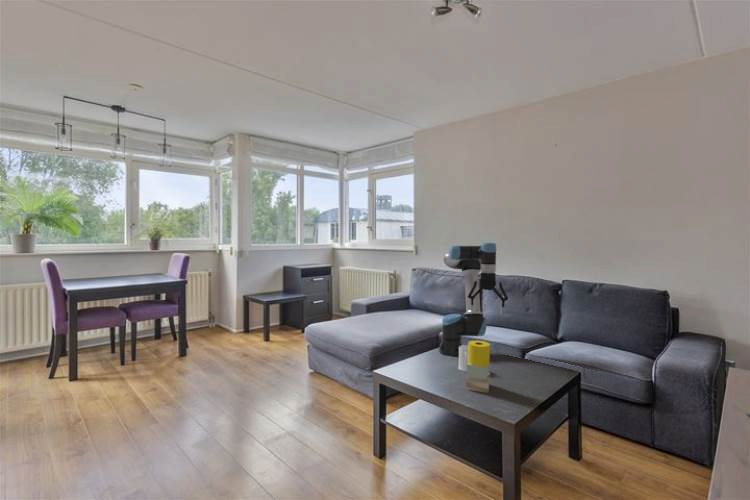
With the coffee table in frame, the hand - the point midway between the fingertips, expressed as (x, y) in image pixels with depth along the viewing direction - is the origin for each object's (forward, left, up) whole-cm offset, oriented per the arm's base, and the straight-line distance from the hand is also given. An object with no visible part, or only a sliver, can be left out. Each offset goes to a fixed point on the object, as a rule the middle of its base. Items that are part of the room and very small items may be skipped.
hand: (487, 312), depth 195 cm
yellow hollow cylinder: (+19, -2, -21) cm, 29 cm away
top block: (+19, -2, -27) cm, 33 cm away
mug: (-1, -11, -33) cm, 35 cm away
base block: (+19, -2, -33) cm, 38 cm away
